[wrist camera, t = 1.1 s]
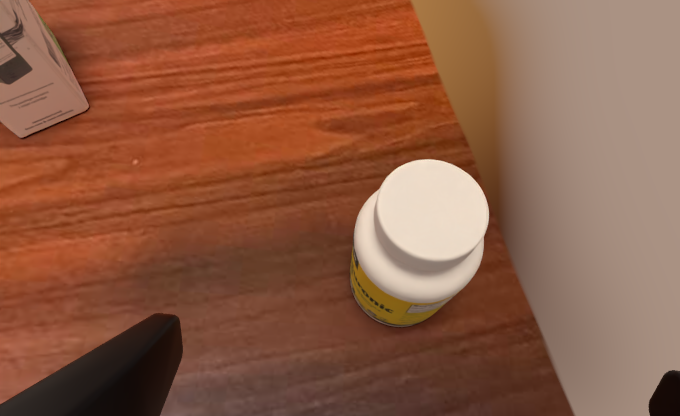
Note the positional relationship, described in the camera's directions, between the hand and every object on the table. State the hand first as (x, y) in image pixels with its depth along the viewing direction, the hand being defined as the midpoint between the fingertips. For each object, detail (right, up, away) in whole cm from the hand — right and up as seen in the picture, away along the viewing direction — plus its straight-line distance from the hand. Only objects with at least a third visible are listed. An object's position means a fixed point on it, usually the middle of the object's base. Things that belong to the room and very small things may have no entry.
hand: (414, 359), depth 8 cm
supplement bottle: (+2, -1, +16) cm, 16 cm away
